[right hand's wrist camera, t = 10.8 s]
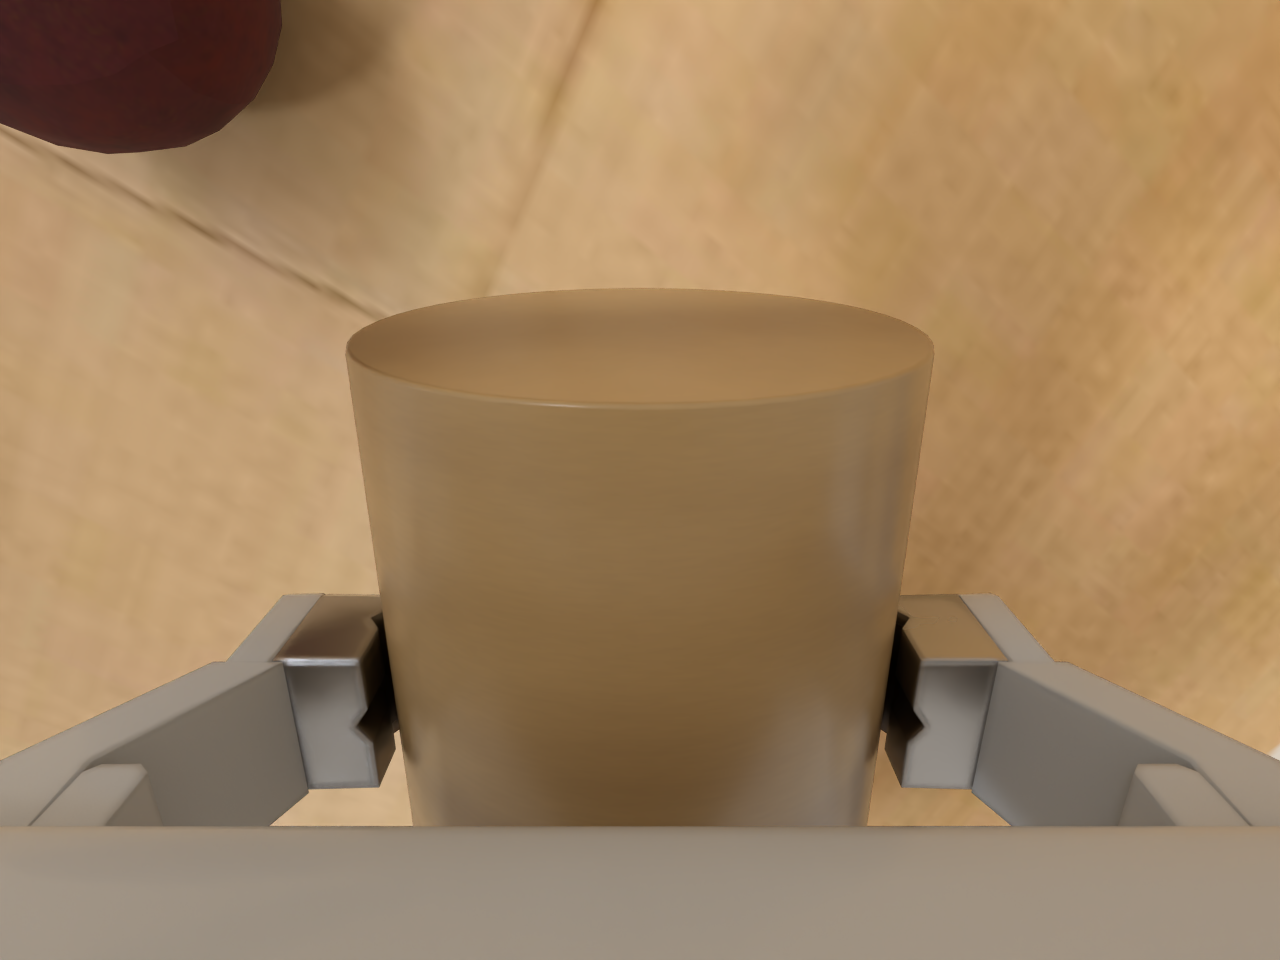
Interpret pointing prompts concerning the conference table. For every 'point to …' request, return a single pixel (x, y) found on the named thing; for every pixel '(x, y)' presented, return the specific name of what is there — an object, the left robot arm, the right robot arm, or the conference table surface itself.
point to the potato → (132, 69)
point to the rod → (639, 551)
